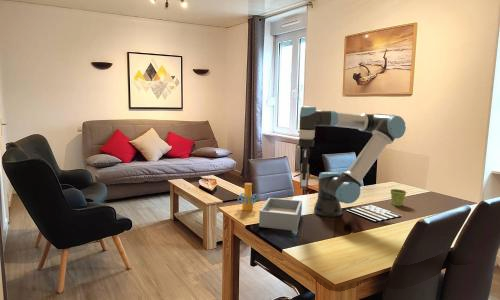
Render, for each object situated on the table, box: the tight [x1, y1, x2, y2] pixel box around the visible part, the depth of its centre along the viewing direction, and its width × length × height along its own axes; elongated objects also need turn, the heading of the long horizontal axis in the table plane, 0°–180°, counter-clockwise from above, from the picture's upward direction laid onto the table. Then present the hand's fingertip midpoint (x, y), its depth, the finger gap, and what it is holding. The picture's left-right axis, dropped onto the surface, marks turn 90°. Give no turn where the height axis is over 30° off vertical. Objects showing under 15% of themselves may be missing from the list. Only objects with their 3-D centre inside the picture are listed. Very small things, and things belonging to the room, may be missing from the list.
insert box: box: [258, 197, 303, 232], centre depth 188 cm, size 18×24×8 cm
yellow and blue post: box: [237, 182, 259, 212], centre depth 204 cm, size 12×10×15 cm
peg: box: [299, 163, 310, 190], centre depth 180 cm, size 4×4×12 cm
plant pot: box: [389, 188, 408, 207], centre depth 222 cm, size 9×9×9 cm
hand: (303, 184), depth 181 cm, fingers closed on peg, 4 cm apart
